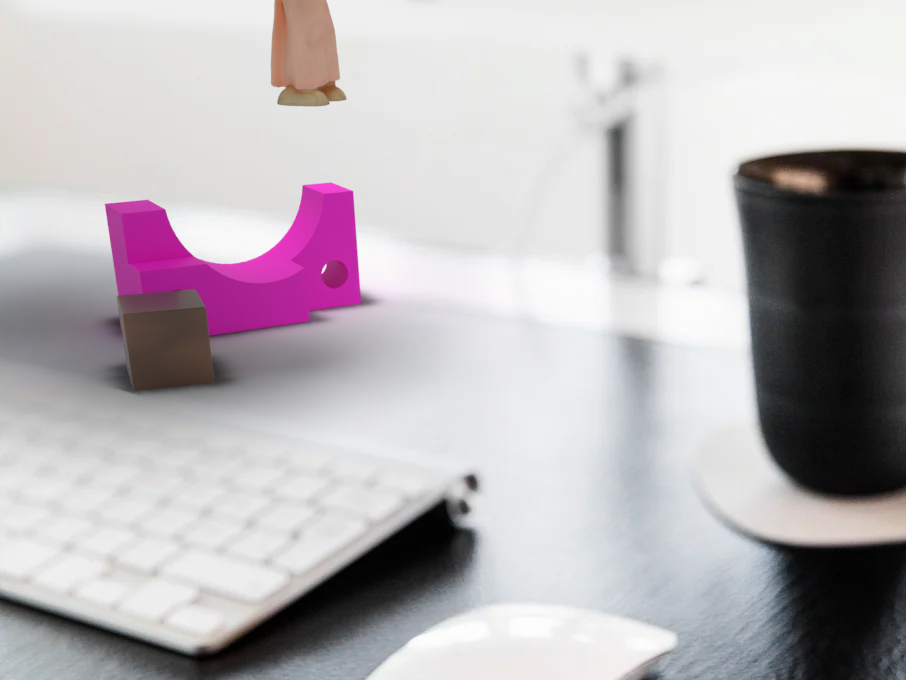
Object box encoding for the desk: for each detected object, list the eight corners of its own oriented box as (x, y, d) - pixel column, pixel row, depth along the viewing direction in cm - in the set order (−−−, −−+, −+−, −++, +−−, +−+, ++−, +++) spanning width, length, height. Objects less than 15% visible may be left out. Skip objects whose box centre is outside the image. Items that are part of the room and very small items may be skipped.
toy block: (150, 345, 86) (132, 220, 83) (122, 322, 91) (104, 203, 88) (376, 312, 94) (368, 197, 90) (339, 293, 98) (331, 182, 95)
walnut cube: (134, 392, 78) (122, 314, 76) (127, 370, 82) (116, 295, 80) (215, 384, 80) (206, 307, 78) (204, 363, 83) (196, 288, 81)
